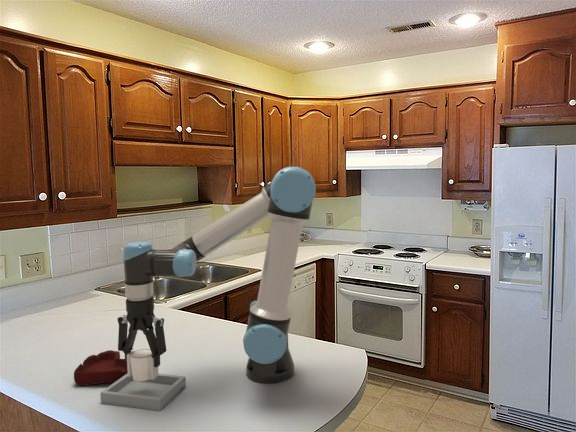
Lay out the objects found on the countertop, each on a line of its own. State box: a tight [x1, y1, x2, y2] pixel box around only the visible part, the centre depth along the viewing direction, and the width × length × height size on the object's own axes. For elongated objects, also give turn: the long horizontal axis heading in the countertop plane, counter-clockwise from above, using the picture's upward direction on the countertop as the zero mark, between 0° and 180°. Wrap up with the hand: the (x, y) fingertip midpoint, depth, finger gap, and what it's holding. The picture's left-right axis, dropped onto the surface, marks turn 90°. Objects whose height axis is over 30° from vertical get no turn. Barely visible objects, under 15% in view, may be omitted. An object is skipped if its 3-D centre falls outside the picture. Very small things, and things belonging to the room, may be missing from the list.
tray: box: [100, 373, 187, 412], centre depth 129 cm, size 18×14×3 cm
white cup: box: [130, 348, 152, 381], centre depth 129 cm, size 7×7×7 cm
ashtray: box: [73, 349, 128, 386], centre depth 141 cm, size 18×16×5 cm
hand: (143, 375), depth 129 cm, fingers closed on white cup, 7 cm apart
